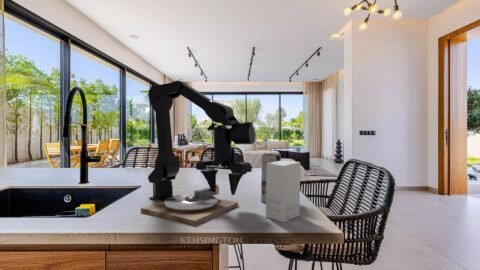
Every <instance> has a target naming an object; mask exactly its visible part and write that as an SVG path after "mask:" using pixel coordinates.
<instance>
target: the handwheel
mask: <svg viewBox="0 0 480 270" xmlns="http://www.w3.org/2000/svg"><path fill="white" fill-rule="evenodd" d="M219 190H220V187H219V184H216V190H215V192H212V190H211V188H210V186H209V187H204V188H200V189H195V190H193V191H194V193H185V194H178V195H173V196H172V197H169V198H167V199H166V200H165V207H166V208H167V209H170V210H174V211H184V212H190V211H201V210H206V209H210V208H213V207H215V206H216V205H217V199H218V198H217V197H216V196H218V195H219V194H220V191H219Z"/></svg>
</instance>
